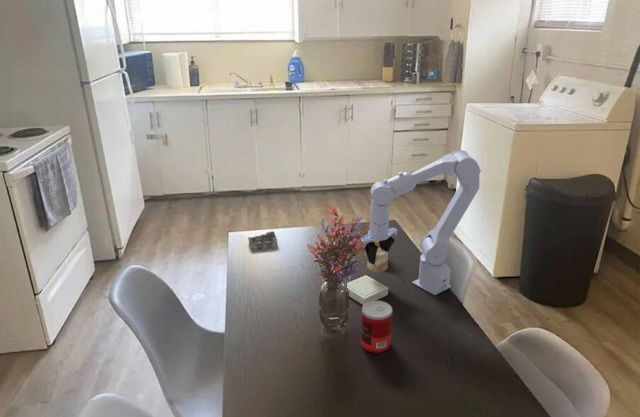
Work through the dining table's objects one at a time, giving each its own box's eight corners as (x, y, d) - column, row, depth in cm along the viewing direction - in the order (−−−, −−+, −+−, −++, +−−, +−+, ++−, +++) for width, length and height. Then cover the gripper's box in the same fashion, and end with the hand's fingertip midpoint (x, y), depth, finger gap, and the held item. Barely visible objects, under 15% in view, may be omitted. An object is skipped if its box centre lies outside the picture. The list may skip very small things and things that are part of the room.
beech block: (387, 269, 150) (388, 252, 148) (377, 273, 148) (377, 256, 145) (377, 263, 153) (378, 247, 151) (367, 267, 151) (368, 250, 149)
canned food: (394, 340, 126) (397, 305, 122) (382, 357, 120) (384, 321, 115) (368, 331, 130) (370, 297, 126) (355, 347, 123) (356, 312, 119)
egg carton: (275, 240, 185) (275, 230, 183) (278, 248, 178) (278, 238, 176) (248, 242, 182) (247, 233, 181) (249, 251, 176) (249, 241, 174)
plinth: (387, 294, 147) (388, 287, 146) (364, 305, 141) (364, 298, 140) (365, 281, 154) (366, 274, 153) (342, 291, 149) (342, 284, 148)
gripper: (386, 211, 152) (384, 249, 157) (352, 222, 143) (351, 262, 148) (403, 218, 146) (400, 257, 151) (368, 230, 138) (367, 271, 143)
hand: (377, 260), depth 150 cm, fingers closed on beech block, 4 cm apart
